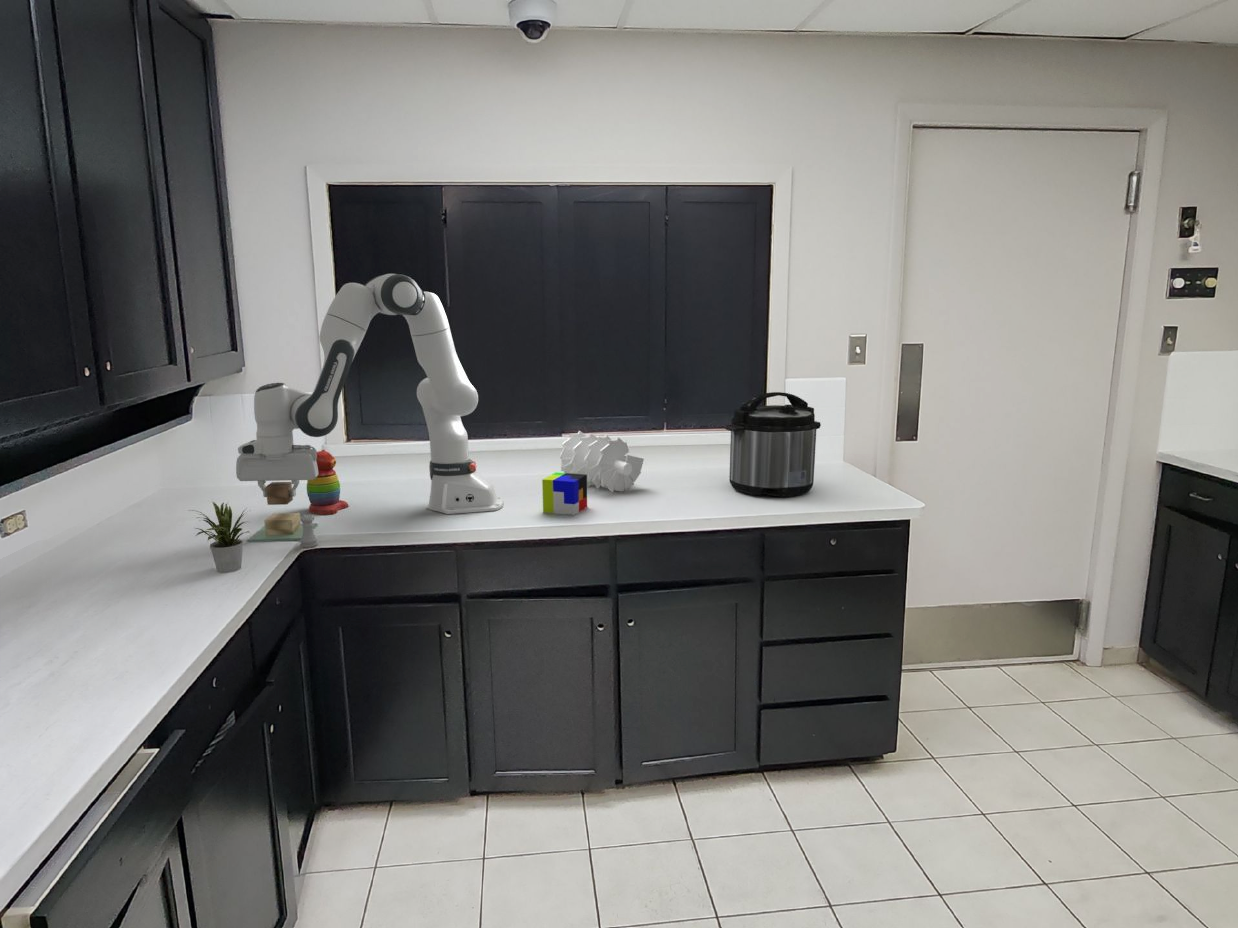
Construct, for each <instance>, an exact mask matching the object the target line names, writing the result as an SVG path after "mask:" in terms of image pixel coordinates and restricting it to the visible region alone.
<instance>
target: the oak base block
mask: <svg viewBox="0 0 1238 928" xmlns="http://www.w3.org/2000/svg"><path fill="white" fill-rule="evenodd" d="M300 519H301V513H300V512H290V513H288V512H287V513H285V512H284V513H272V514H271V515H269V516H268V517H267V518H266V519H265V520H264V525H265V532H266V535H293V534H294V533H295V532H296V531H297V530H298V529H299V528H300V527H301V524H302V523H301V520H300Z"/></svg>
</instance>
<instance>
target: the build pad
mask: <svg viewBox="0 0 1238 928" xmlns="http://www.w3.org/2000/svg"><path fill="white" fill-rule="evenodd" d="M312 523H313V522H312ZM302 524H303V523H301V527H300V528H299V529H298V530H297V531H296V532H295V533H294V534H293V535H266V532H265V524H264V525H263V526H262V527H261V528H260V529H258V530H257V531H256V532H255V533H254V534H252V535H251V536H250V537H249V538H247V542H248V543H249V542H250V543H253V542H283V541H284V542H286V541H288V542H291V541H300V540H301V538H302V535H303V526H302ZM313 524H314V525H313V531H315V530H314V529H316V528H317V527H318V526H319V525H318V523H317V522H315V523H313Z"/></svg>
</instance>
